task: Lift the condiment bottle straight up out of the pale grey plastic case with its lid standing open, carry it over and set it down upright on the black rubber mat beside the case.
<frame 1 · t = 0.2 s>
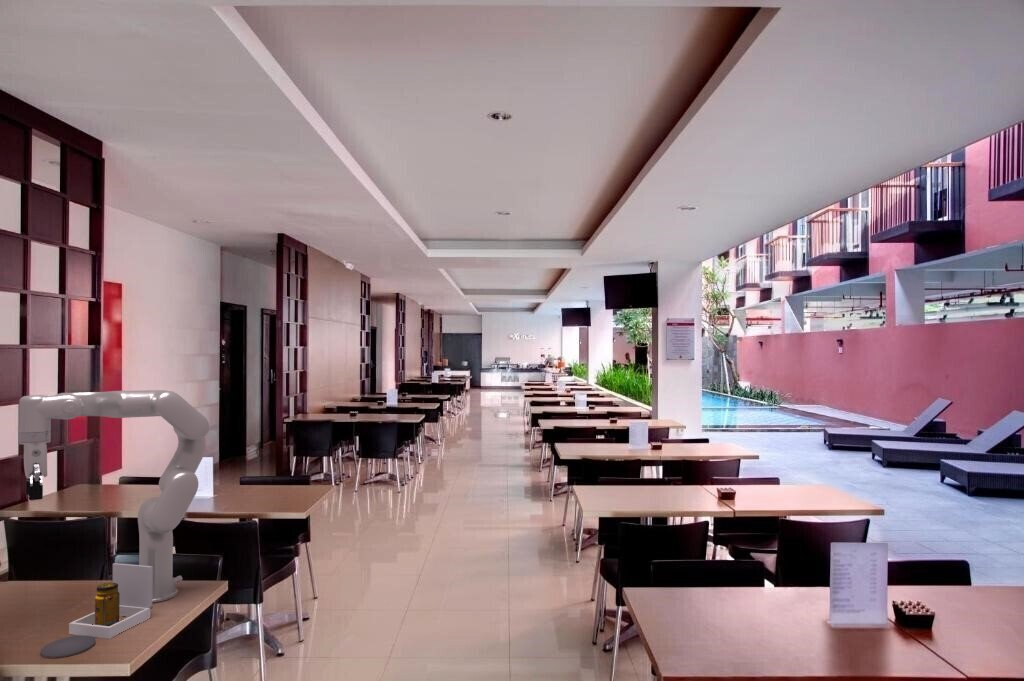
hand: (34, 496, 192), 37 cm above the table, tool pointing down, fingers open, 9 cm apart
case: (110, 625, 190), on the table
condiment: (110, 627, 190), resting in case
mat: (68, 648, 176), on the table
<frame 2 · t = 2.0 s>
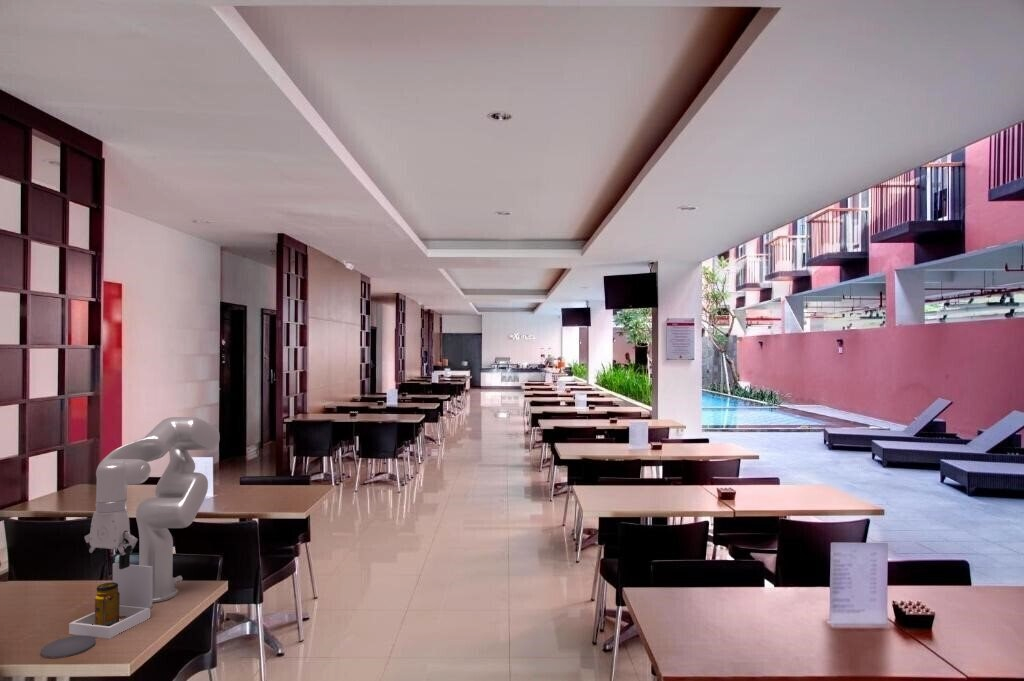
hand: (110, 566, 190), 17 cm above the table, tool pointing down, fingers open, 9 cm apart
nothing on the table moved.
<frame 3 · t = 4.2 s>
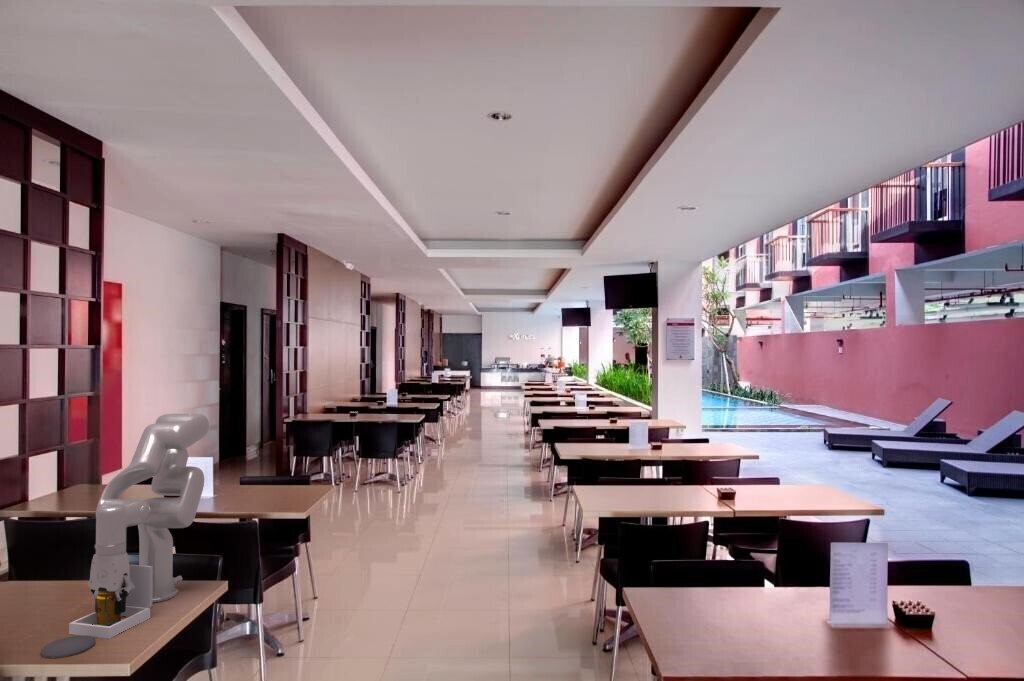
hand: (110, 611, 190), 4 cm above the table, tool pointing down, fingers closed on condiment, 6 cm apart
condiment: (112, 626, 190), resting in case, touching gripper
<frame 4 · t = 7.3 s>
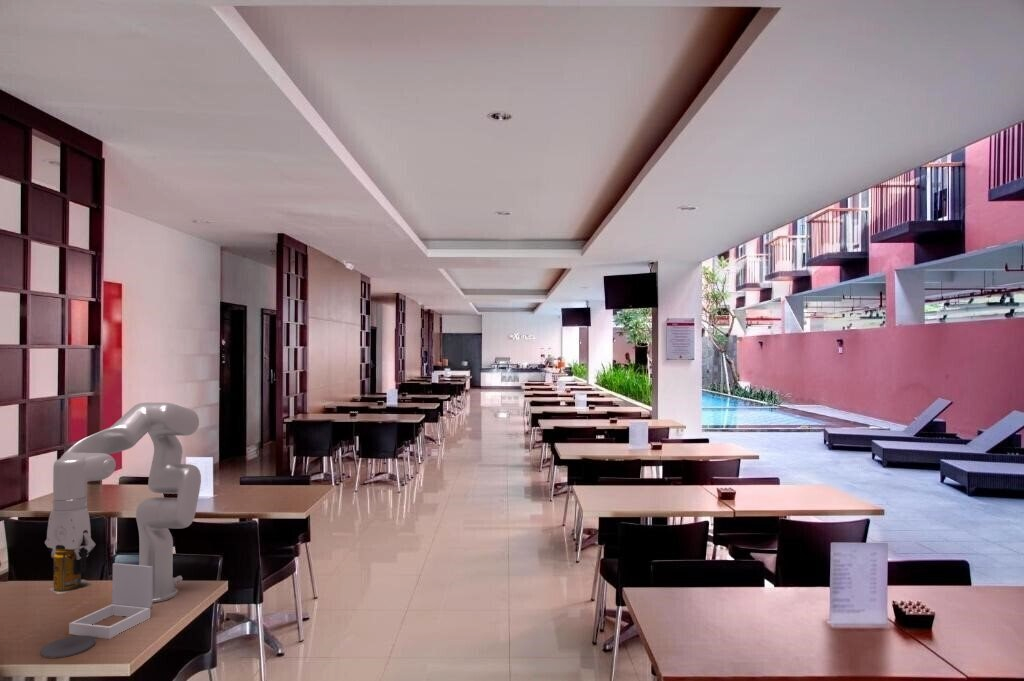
hand: (69, 571, 177), 20 cm above the table, tool pointing down, fingers closed on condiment, 6 cm apart
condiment: (71, 588, 177), point 16 cm above the table, touching gripper
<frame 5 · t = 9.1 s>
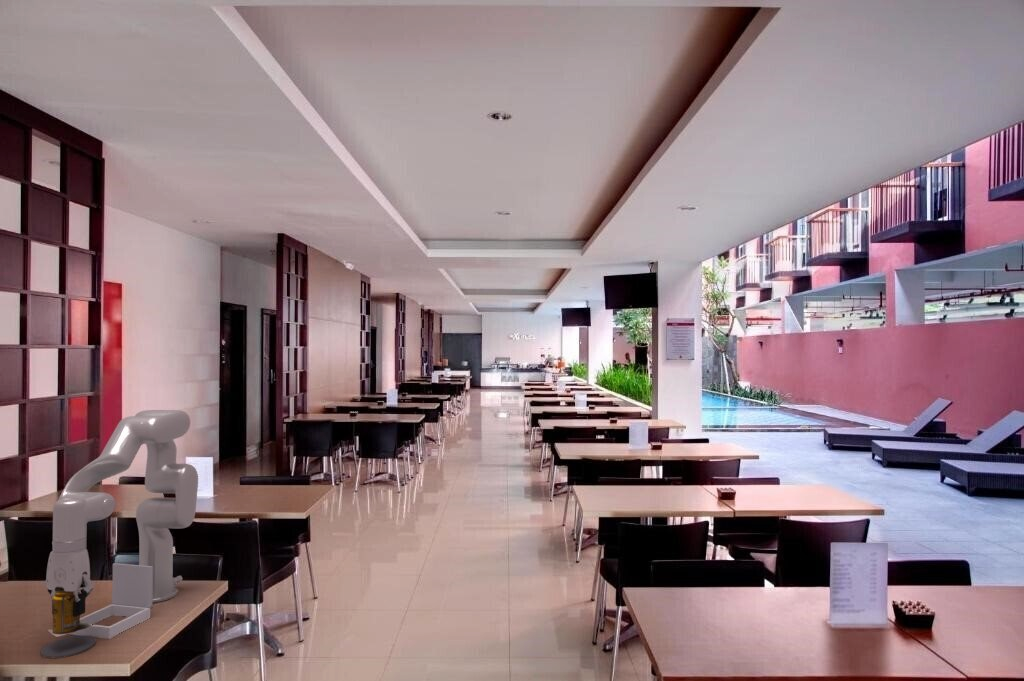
hand: (68, 613, 176), 9 cm above the table, tool pointing down, fingers closed on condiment, 6 cm apart
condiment: (70, 629, 176), point 5 cm above the table, touching gripper
when the fingers open (6 cm above the table, at t = 10.7 s): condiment drops 1 cm, resting on mat.
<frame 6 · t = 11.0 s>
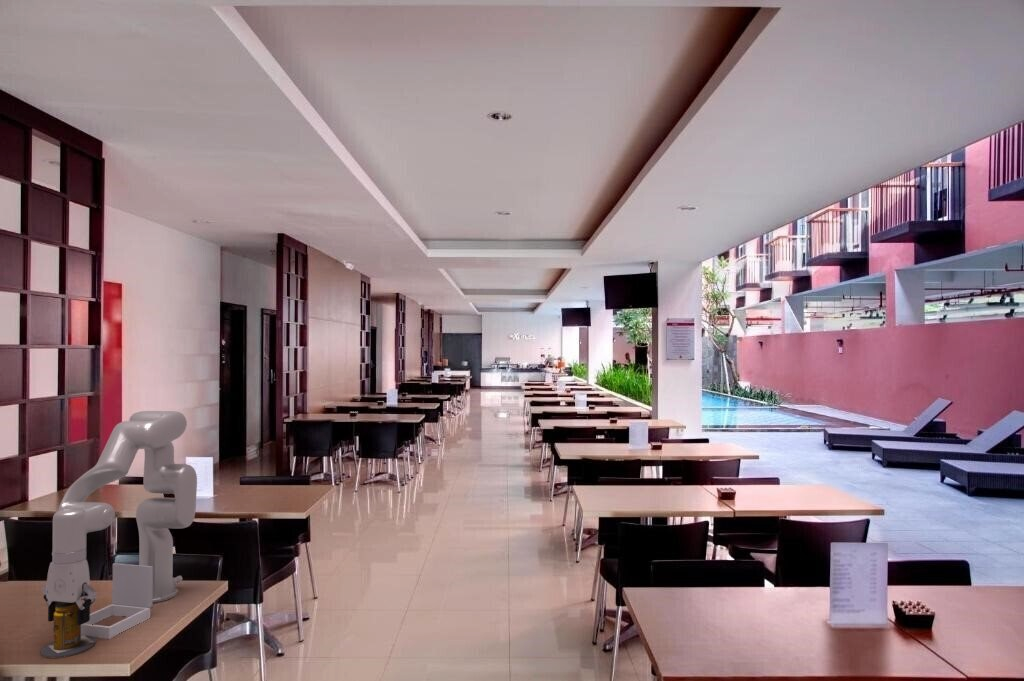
hand: (68, 621, 176), 7 cm above the table, tool pointing down, fingers open, 9 cm apart
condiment: (71, 645, 176), point 1 cm above the table, touching mat
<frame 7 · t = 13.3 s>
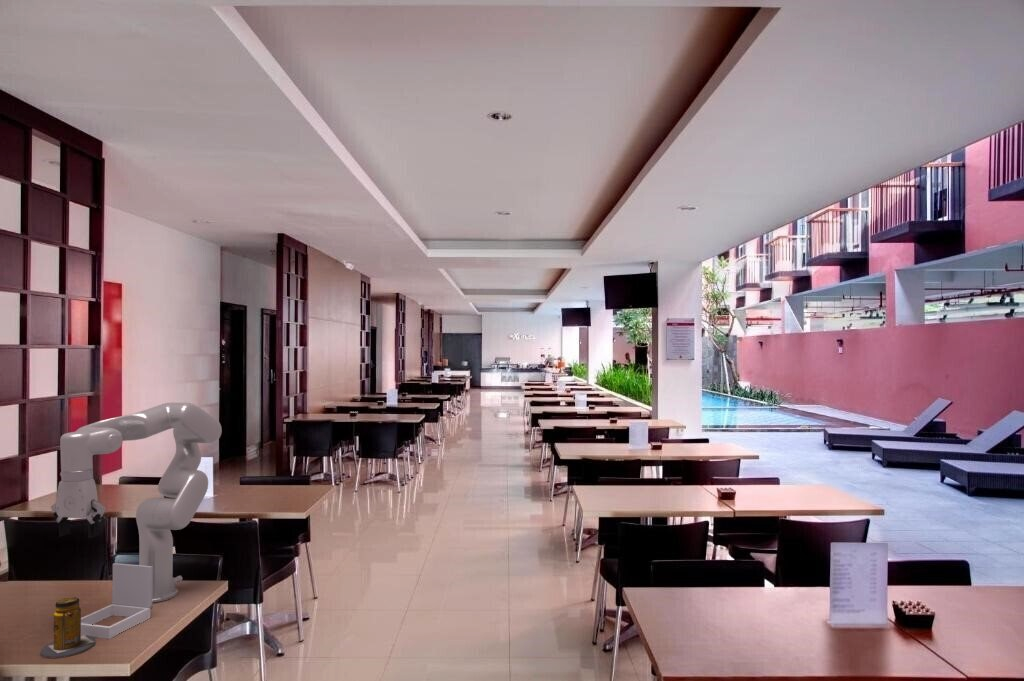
hand: (79, 535, 188), 27 cm above the table, tool pointing down, fingers open, 9 cm apart
nothing on the table moved.
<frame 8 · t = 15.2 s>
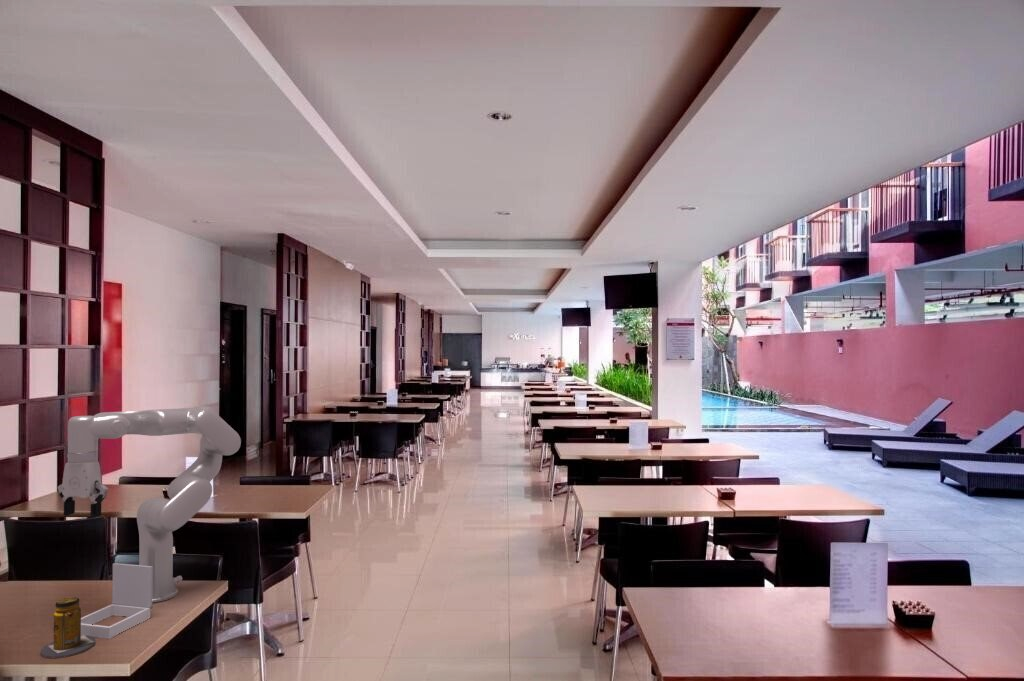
hand: (82, 515, 197), 30 cm above the table, tool pointing down, fingers open, 9 cm apart
nothing on the table moved.
at the end: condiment 0.6 cm from the mat (horizontally); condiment tilted 0°; the gripper is holding nothing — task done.
